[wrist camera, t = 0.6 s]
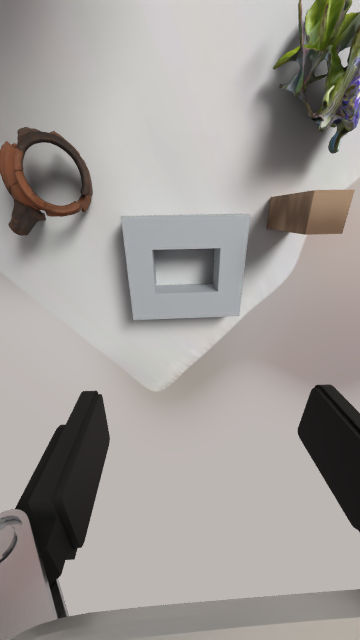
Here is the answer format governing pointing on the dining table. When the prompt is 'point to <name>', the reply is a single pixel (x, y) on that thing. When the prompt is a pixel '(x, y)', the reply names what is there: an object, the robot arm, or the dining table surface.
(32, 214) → the dark brown looped piece
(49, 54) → the dining table surface
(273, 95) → the dining table surface
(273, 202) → the wood grain block
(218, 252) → the well block
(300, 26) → the passion flower
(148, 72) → the dining table surface
